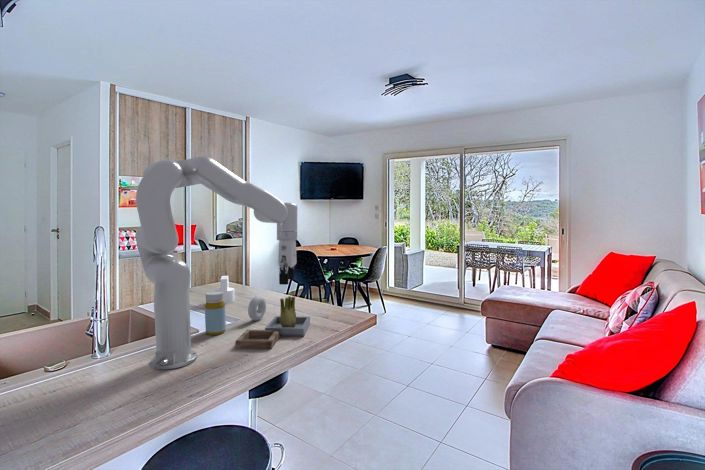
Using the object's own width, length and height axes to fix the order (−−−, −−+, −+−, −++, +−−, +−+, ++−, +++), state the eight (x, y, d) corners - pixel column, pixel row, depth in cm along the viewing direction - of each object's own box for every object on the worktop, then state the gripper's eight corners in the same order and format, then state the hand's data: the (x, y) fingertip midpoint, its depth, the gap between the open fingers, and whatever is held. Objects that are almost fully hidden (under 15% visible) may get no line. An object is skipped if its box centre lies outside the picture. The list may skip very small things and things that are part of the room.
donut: (253, 324, 145) (253, 299, 144) (246, 323, 146) (245, 298, 145) (268, 317, 154) (267, 293, 153) (261, 316, 155) (260, 293, 154)
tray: (303, 336, 131) (303, 328, 131) (265, 336, 132) (265, 328, 131) (310, 324, 145) (310, 316, 145) (275, 323, 146) (275, 316, 145)
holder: (271, 348, 120) (271, 341, 120) (235, 348, 120) (235, 340, 120) (279, 336, 131) (279, 330, 131) (247, 336, 131) (246, 329, 131)
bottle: (229, 332, 136) (228, 292, 135) (211, 337, 131) (209, 296, 129) (220, 327, 141) (219, 289, 139) (202, 332, 135) (201, 292, 134)
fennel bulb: (280, 330, 135) (279, 298, 134) (281, 326, 140) (280, 295, 139) (296, 329, 136) (295, 298, 135) (296, 325, 141) (296, 294, 140)
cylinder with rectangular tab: (216, 299, 182) (215, 276, 181) (235, 298, 185) (234, 275, 184) (214, 304, 174) (213, 279, 173) (234, 303, 176) (233, 278, 175)
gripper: (292, 238, 126) (291, 286, 128) (301, 234, 144) (301, 277, 145) (270, 237, 127) (270, 286, 128) (282, 234, 144) (282, 277, 145)
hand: (286, 281), depth 136 cm, fingers open, 9 cm apart
